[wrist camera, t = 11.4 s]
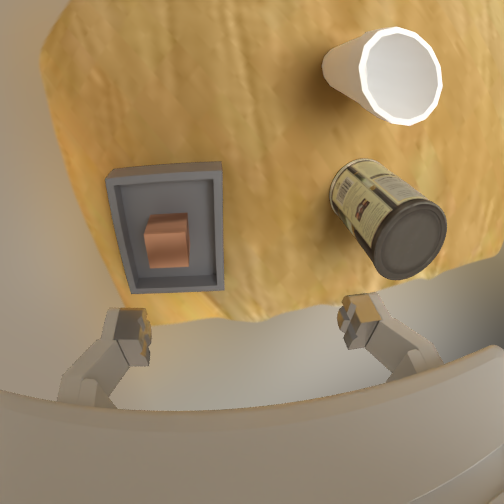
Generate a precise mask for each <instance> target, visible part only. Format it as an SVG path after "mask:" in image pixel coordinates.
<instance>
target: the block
mask: <svg viewBox="0 0 504 504" xmlns="http://www.w3.org/2000/svg"><path fill="white" fill-rule="evenodd" d="M144 239H145V245H146V250H147V255H148V260H149V265H150V268H171V267H189V255H190V237H189V225H188V213H170V214H153V215H150V217H149V220H148V223H147V226H146V229H145V232H144Z"/></svg>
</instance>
